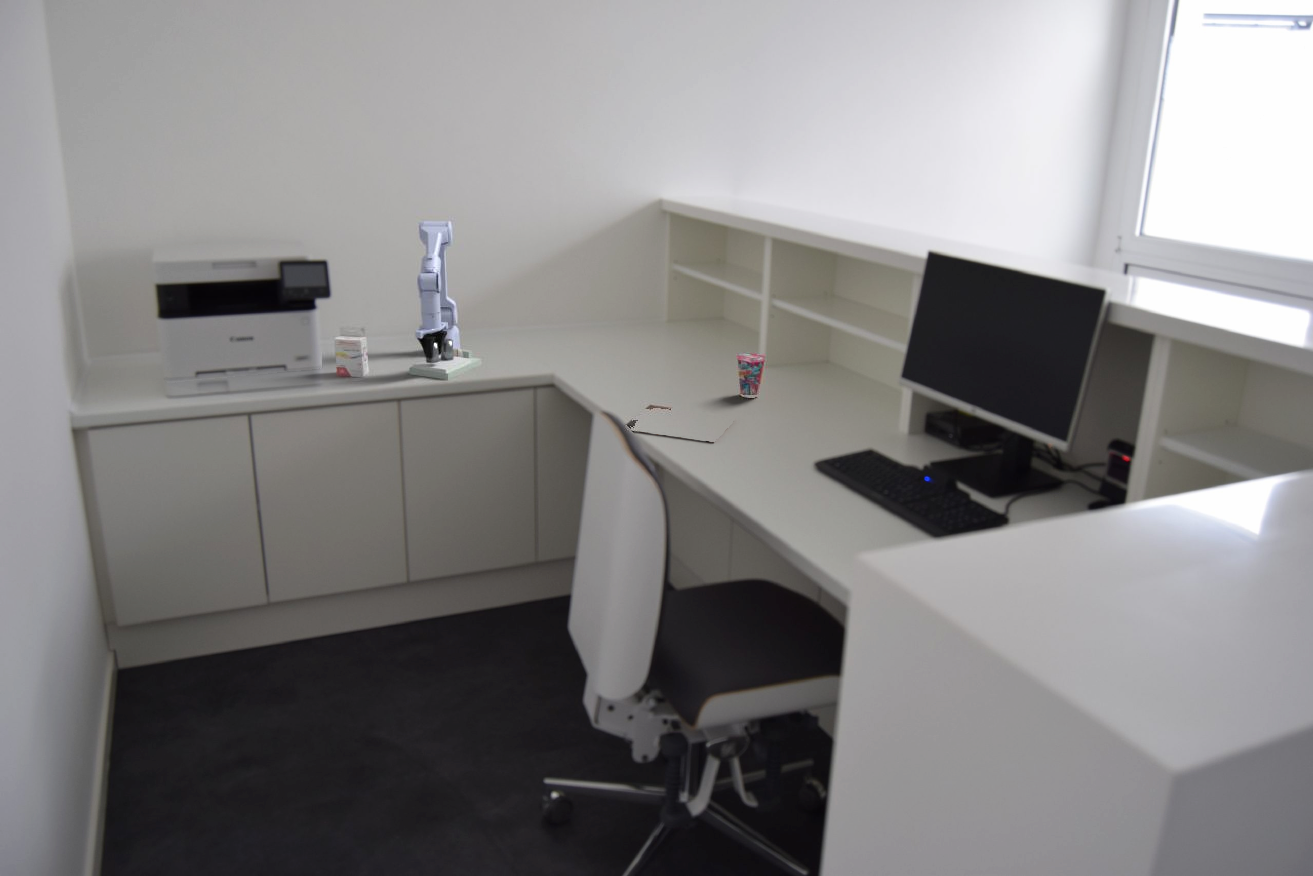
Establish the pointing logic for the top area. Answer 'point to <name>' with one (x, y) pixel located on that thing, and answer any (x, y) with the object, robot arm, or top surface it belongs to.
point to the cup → (750, 372)
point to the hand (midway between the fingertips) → (433, 356)
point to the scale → (447, 366)
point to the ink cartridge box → (351, 352)
